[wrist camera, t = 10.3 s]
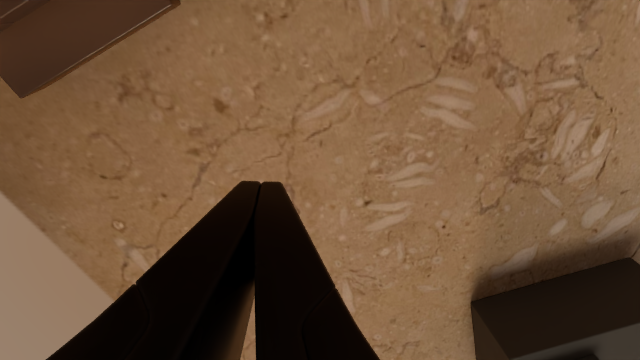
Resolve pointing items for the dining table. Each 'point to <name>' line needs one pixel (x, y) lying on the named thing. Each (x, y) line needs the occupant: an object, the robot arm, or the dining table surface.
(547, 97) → the dining table surface
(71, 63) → the switch housing
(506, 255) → the dining table surface
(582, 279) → the block low
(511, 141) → the dining table surface
